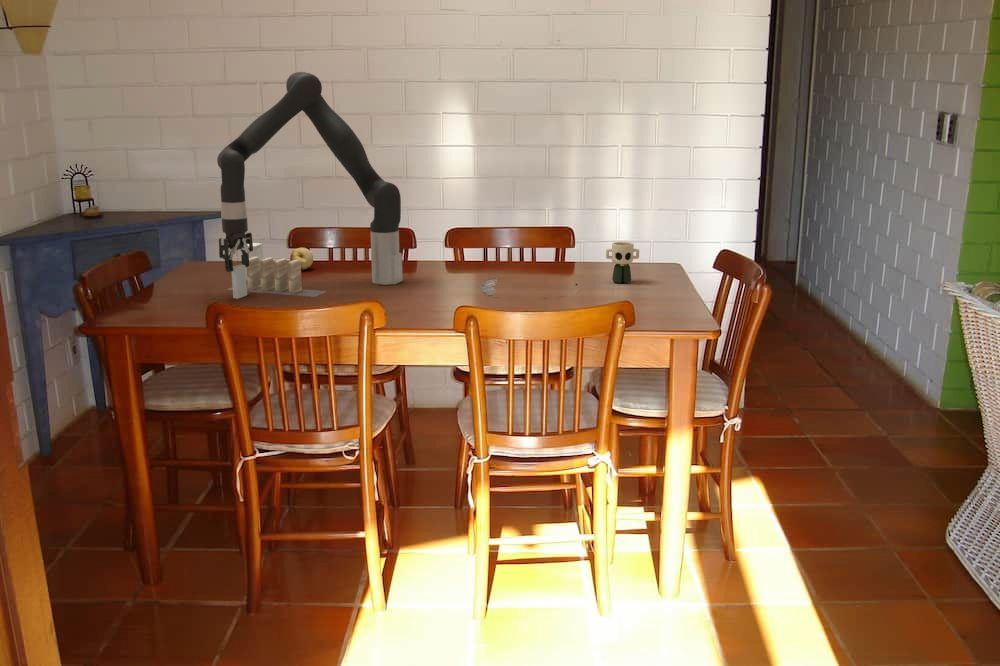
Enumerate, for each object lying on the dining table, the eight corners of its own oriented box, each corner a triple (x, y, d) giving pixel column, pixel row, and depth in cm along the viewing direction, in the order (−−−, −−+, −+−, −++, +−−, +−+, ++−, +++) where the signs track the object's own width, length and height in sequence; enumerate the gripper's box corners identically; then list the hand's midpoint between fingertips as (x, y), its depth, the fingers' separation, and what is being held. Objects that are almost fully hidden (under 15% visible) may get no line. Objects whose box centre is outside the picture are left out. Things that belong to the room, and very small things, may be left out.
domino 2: (261, 287, 309) (259, 256, 306) (252, 290, 304) (250, 259, 302) (256, 286, 309) (254, 256, 307) (248, 290, 305) (245, 259, 302)
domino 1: (247, 296, 298) (244, 264, 296) (238, 299, 294) (235, 267, 291) (242, 295, 299) (240, 264, 296) (233, 299, 294) (231, 267, 292)
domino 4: (288, 289, 306) (286, 258, 303) (279, 292, 301) (277, 261, 298) (283, 289, 306) (281, 258, 304) (275, 292, 302) (273, 261, 299)
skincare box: (257, 281, 319) (254, 246, 316) (245, 281, 320) (242, 245, 317) (264, 277, 325) (262, 243, 322) (253, 277, 326) (250, 242, 323)
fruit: (286, 271, 335) (285, 248, 333) (300, 267, 343) (298, 245, 341) (305, 273, 332) (303, 250, 330) (318, 268, 340) (316, 246, 338)
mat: (327, 292, 303) (327, 291, 303) (314, 298, 296) (314, 296, 296) (240, 285, 313) (240, 284, 313) (226, 290, 306) (226, 289, 306)
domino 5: (302, 290, 304) (300, 259, 301) (293, 293, 300) (291, 262, 297) (297, 290, 305) (295, 259, 302) (289, 293, 300) (287, 262, 297)
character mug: (606, 284, 314) (607, 245, 310) (604, 280, 320) (605, 241, 317) (639, 284, 313) (640, 245, 310) (636, 280, 320) (638, 241, 317)
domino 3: (274, 288, 307) (272, 257, 305) (266, 291, 303) (264, 260, 300) (270, 288, 308) (268, 257, 305) (261, 291, 303) (259, 260, 301)
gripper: (231, 220, 282) (234, 274, 286) (258, 214, 295) (261, 265, 299) (209, 218, 284) (213, 272, 288) (237, 212, 297) (240, 264, 301)
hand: (237, 269), depth 294 cm, fingers open, 8 cm apart
